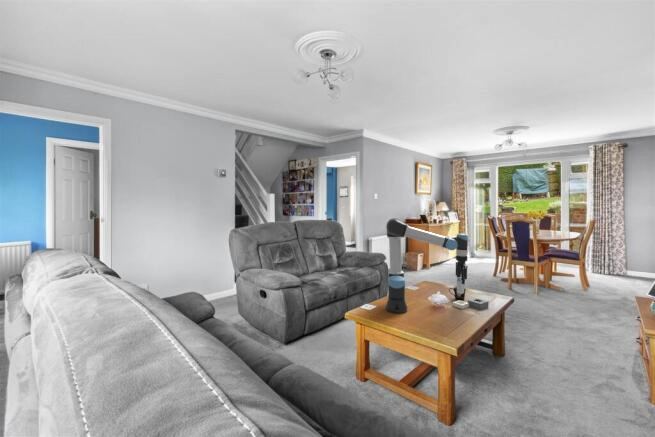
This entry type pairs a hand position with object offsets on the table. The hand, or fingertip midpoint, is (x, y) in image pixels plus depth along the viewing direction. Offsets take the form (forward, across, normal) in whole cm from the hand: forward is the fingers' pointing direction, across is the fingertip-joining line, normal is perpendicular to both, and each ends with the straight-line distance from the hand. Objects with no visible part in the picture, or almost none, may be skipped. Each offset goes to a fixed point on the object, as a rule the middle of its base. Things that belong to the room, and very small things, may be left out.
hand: (460, 287), depth 227 cm
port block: (+15, -1, -13) cm, 20 cm away
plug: (+4, 0, 0) cm, 4 cm away
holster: (+15, 0, -1) cm, 15 cm away
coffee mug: (+15, +17, -7) cm, 24 cm away
